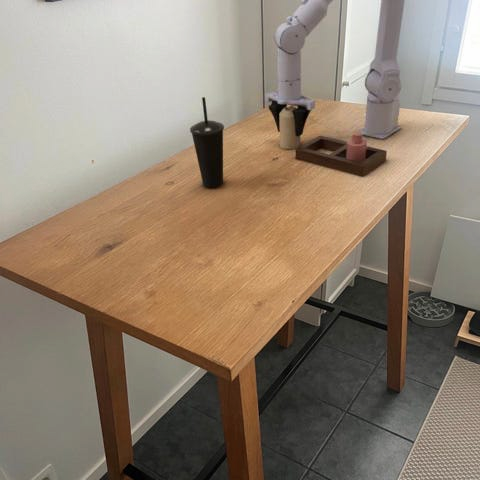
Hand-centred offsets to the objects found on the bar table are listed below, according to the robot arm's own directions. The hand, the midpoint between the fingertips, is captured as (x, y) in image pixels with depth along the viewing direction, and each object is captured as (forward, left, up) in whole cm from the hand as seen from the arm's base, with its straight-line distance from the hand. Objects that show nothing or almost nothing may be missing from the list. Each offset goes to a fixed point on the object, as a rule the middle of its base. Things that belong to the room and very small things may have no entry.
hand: (290, 132), depth 135 cm
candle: (0, 0, -4) cm, 4 cm away
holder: (+1, +17, -3) cm, 17 cm away
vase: (+1, +21, -3) cm, 21 cm away
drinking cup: (+29, -1, -4) cm, 29 cm away
